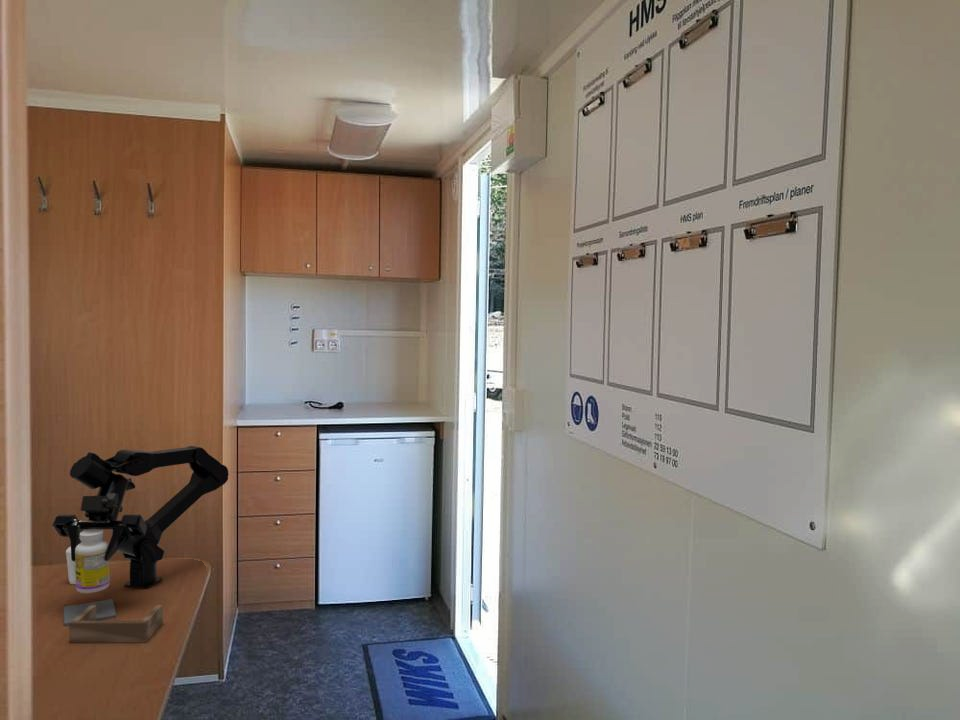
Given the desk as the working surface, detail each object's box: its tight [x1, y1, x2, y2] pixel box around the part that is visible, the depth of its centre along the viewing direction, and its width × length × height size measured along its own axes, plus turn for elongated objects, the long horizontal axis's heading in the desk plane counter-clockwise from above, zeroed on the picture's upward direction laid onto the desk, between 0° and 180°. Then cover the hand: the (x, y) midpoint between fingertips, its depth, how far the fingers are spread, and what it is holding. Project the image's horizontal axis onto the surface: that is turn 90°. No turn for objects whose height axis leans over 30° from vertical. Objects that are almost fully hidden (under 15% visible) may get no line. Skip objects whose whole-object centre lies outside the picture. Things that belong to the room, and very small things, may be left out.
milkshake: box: [65, 546, 76, 585], centre depth 181 cm, size 5×5×10 cm
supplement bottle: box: [75, 529, 110, 594], centre depth 163 cm, size 7×7×13 cm
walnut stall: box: [68, 604, 164, 643], centre depth 154 cm, size 9×15×4 cm, turn 93°
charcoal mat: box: [63, 598, 117, 627], centre depth 163 cm, size 10×10×1 cm
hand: (89, 560), depth 161 cm, fingers closed on supplement bottle, 7 cm apart
